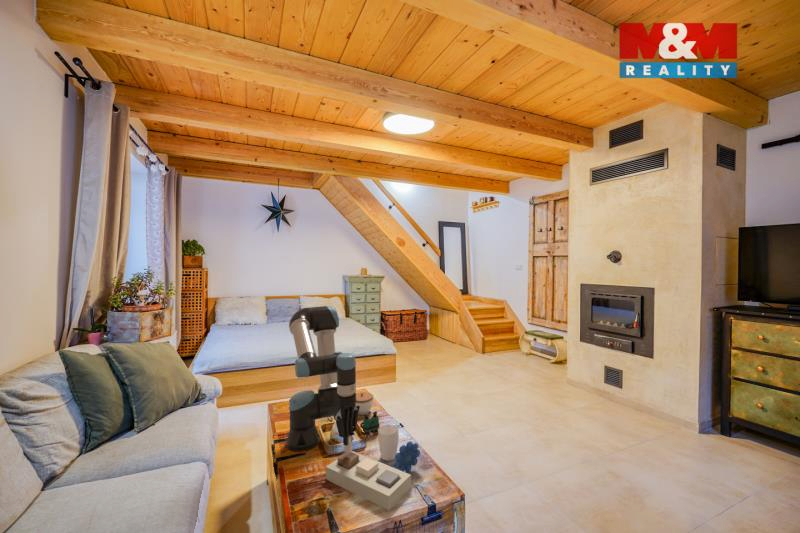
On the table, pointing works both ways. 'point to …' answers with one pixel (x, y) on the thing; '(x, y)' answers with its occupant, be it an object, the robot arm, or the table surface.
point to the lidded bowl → (364, 402)
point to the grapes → (407, 457)
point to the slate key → (388, 478)
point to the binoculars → (370, 424)
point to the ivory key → (367, 468)
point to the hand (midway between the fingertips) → (348, 451)
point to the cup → (388, 441)
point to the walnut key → (348, 460)
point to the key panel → (370, 483)
